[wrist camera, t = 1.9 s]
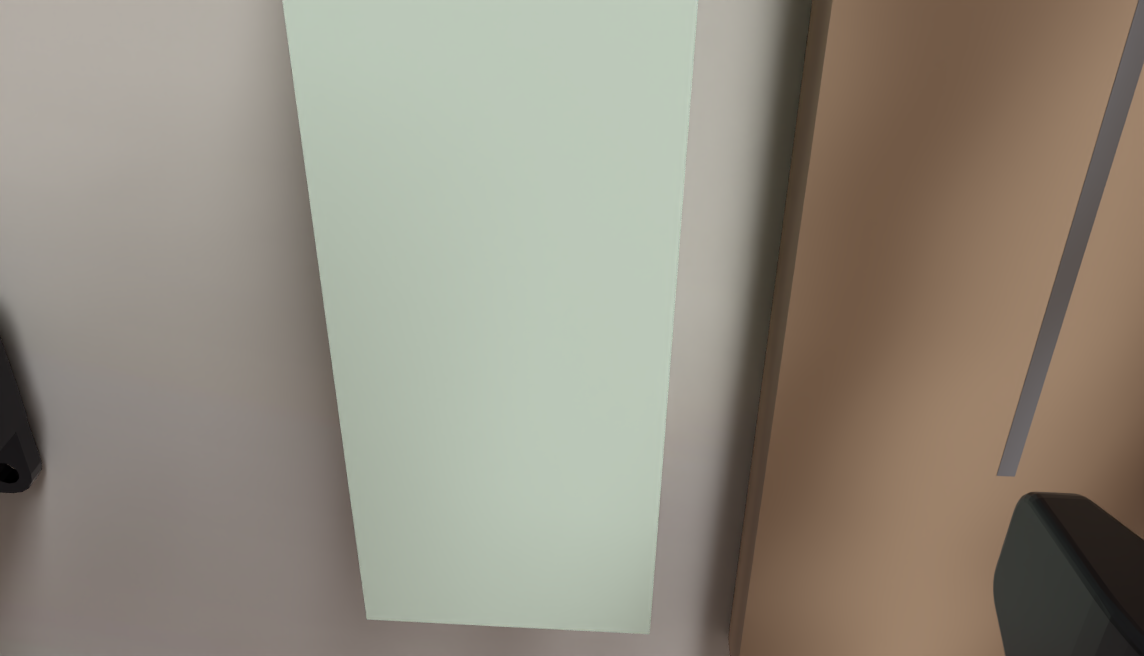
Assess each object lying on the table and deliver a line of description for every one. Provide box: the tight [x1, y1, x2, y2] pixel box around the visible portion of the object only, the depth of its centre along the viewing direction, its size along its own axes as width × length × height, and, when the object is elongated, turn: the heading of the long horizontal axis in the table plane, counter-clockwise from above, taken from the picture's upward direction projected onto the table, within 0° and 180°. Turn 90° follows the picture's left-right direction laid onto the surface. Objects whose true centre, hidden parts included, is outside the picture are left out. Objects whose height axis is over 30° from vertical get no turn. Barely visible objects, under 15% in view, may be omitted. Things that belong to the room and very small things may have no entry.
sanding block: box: [282, 0, 698, 634], centre depth 14 cm, size 4×12×6 cm, turn 179°
